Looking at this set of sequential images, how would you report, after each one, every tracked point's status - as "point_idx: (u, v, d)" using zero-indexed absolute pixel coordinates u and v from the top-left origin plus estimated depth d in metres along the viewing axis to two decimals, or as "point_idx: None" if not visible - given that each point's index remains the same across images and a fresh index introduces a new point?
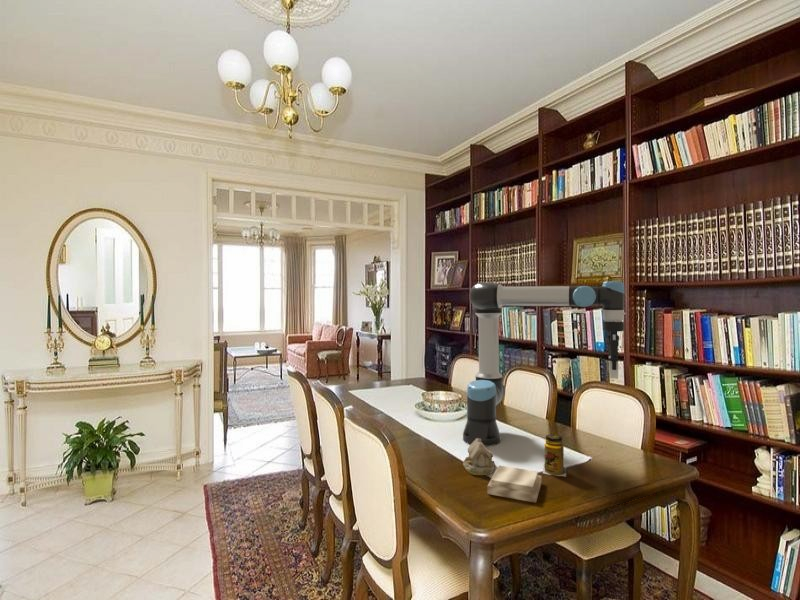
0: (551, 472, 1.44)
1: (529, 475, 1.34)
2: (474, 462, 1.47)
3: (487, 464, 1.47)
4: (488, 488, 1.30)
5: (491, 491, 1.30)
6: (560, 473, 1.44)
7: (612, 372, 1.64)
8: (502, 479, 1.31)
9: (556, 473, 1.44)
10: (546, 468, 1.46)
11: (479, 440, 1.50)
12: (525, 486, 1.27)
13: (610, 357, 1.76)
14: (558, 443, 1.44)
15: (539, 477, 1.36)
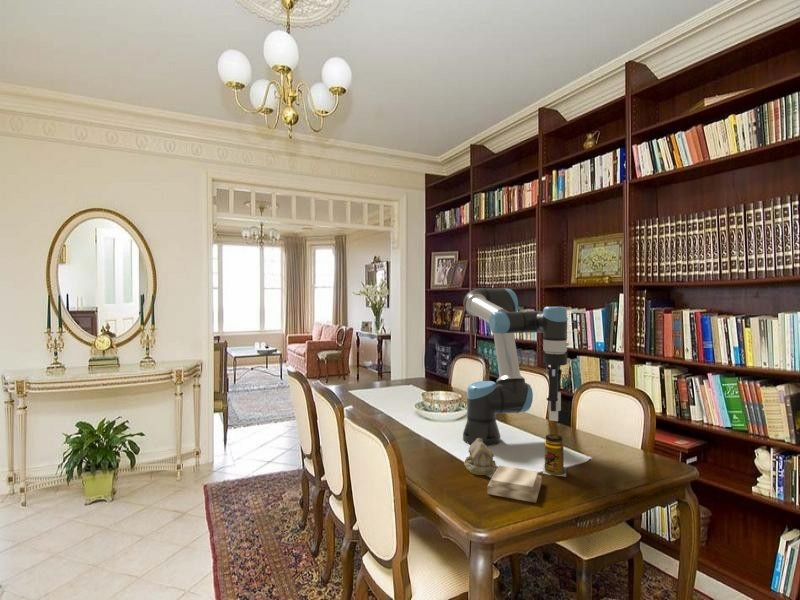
0: (551, 472, 1.44)
1: (529, 475, 1.34)
2: (475, 462, 1.47)
3: (488, 464, 1.47)
4: (488, 488, 1.30)
5: (491, 491, 1.30)
6: (560, 473, 1.44)
7: (551, 413, 1.41)
8: (502, 479, 1.31)
9: (556, 473, 1.44)
10: (546, 468, 1.46)
11: (480, 440, 1.51)
12: (525, 486, 1.27)
13: None
14: (558, 443, 1.44)
15: (539, 477, 1.36)
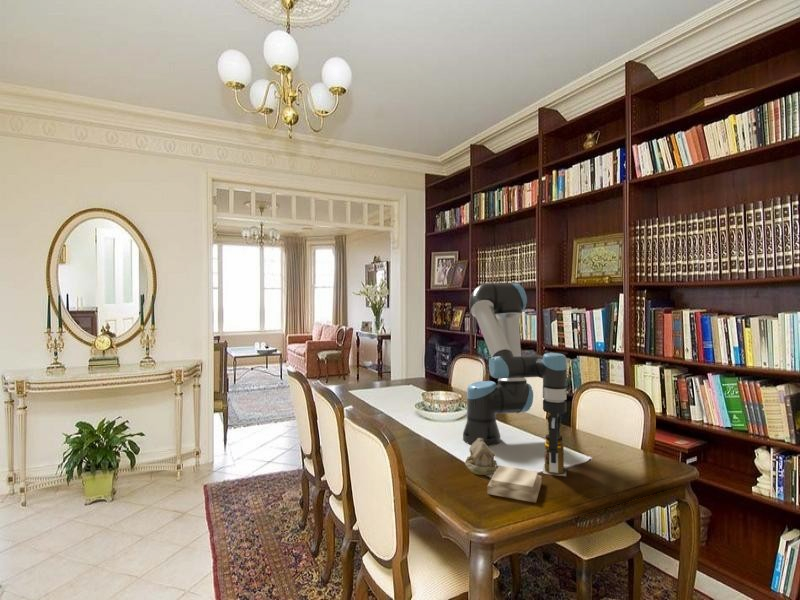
0: (551, 472, 1.45)
1: (529, 475, 1.34)
2: (477, 462, 1.47)
3: (490, 463, 1.48)
4: (488, 488, 1.30)
5: (491, 491, 1.30)
6: (560, 473, 1.44)
7: (551, 465, 1.44)
8: (502, 479, 1.31)
9: (556, 473, 1.44)
10: (546, 468, 1.46)
11: (481, 440, 1.51)
12: (525, 486, 1.27)
13: None
14: (558, 443, 1.44)
15: (539, 477, 1.36)
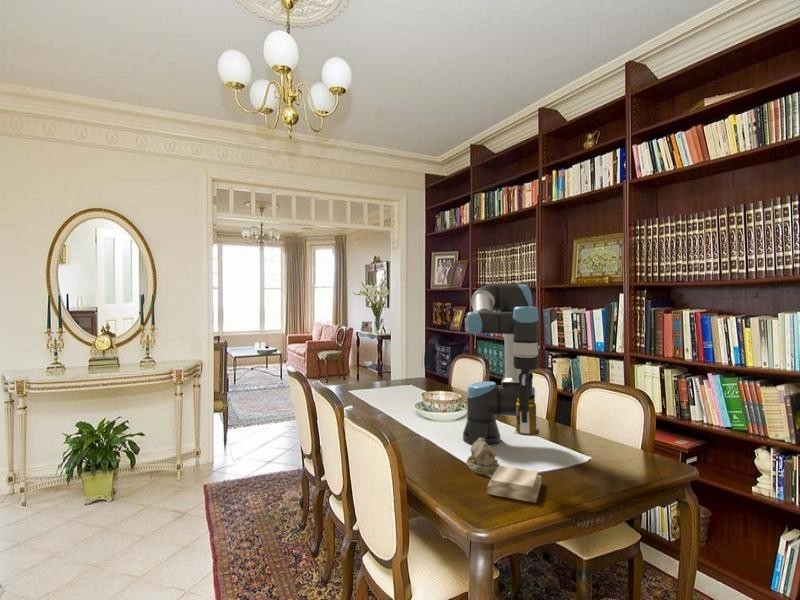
0: None
1: (529, 475, 1.34)
2: (479, 461, 1.47)
3: (491, 463, 1.48)
4: (488, 488, 1.30)
5: (491, 491, 1.30)
6: (532, 433, 1.34)
7: (522, 425, 1.34)
8: (502, 479, 1.31)
9: (528, 433, 1.34)
10: (517, 428, 1.36)
11: (483, 439, 1.51)
12: (525, 486, 1.27)
13: None
14: (530, 401, 1.34)
15: (539, 477, 1.36)
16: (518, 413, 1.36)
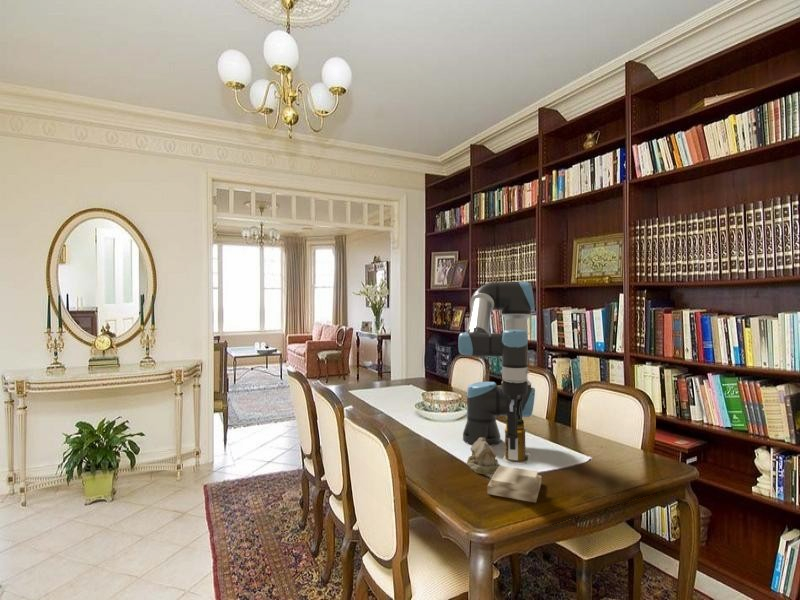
0: None
1: (529, 475, 1.34)
2: (480, 461, 1.48)
3: (492, 463, 1.48)
4: (488, 488, 1.30)
5: (491, 491, 1.30)
6: (521, 460, 1.31)
7: (510, 451, 1.31)
8: (502, 479, 1.31)
9: (516, 460, 1.31)
10: (506, 455, 1.33)
11: (483, 439, 1.51)
12: (525, 486, 1.27)
13: None
14: (518, 427, 1.31)
15: (539, 477, 1.36)
16: (507, 439, 1.33)
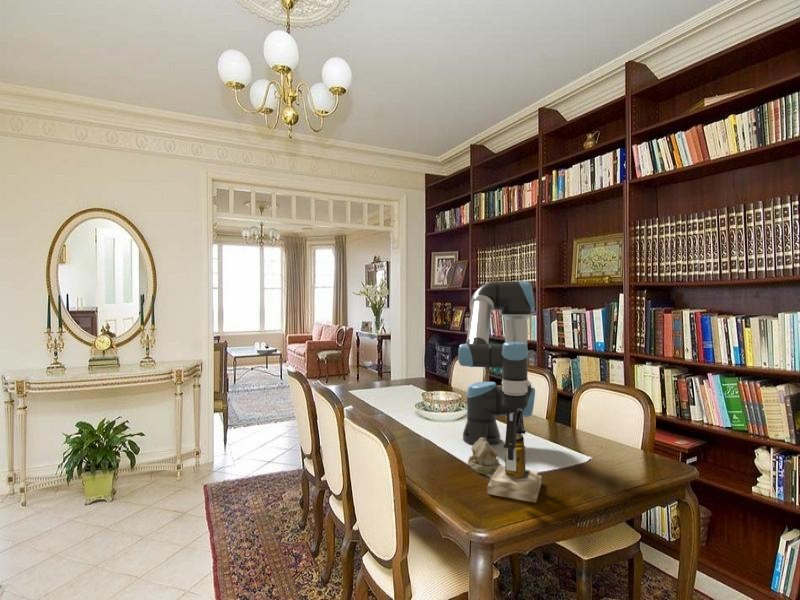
0: (511, 476, 1.32)
1: (529, 475, 1.34)
2: (481, 461, 1.48)
3: (493, 462, 1.48)
4: (488, 488, 1.30)
5: (491, 491, 1.30)
6: (521, 477, 1.32)
7: (508, 462, 1.28)
8: (502, 479, 1.31)
9: (516, 477, 1.31)
10: (506, 471, 1.34)
11: (484, 439, 1.51)
12: (525, 486, 1.27)
13: None
14: (519, 444, 1.32)
15: (539, 477, 1.36)
16: None
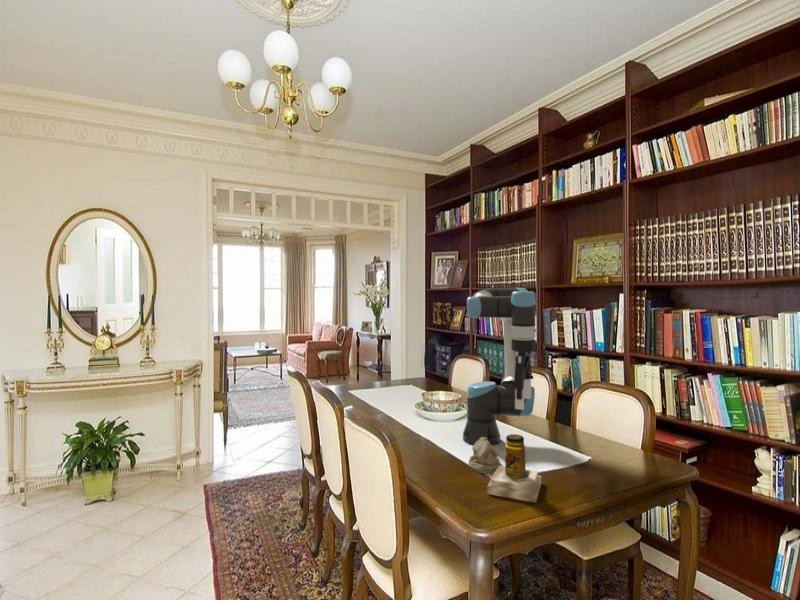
0: (511, 476, 1.32)
1: (529, 475, 1.34)
2: (482, 461, 1.48)
3: (495, 462, 1.49)
4: (488, 488, 1.30)
5: (491, 491, 1.30)
6: (521, 477, 1.32)
7: (517, 401, 1.36)
8: (502, 479, 1.31)
9: (516, 477, 1.31)
10: (506, 471, 1.34)
11: (485, 439, 1.52)
12: (525, 486, 1.27)
13: (524, 380, 1.48)
14: (519, 444, 1.32)
15: (539, 477, 1.36)
16: (507, 456, 1.33)
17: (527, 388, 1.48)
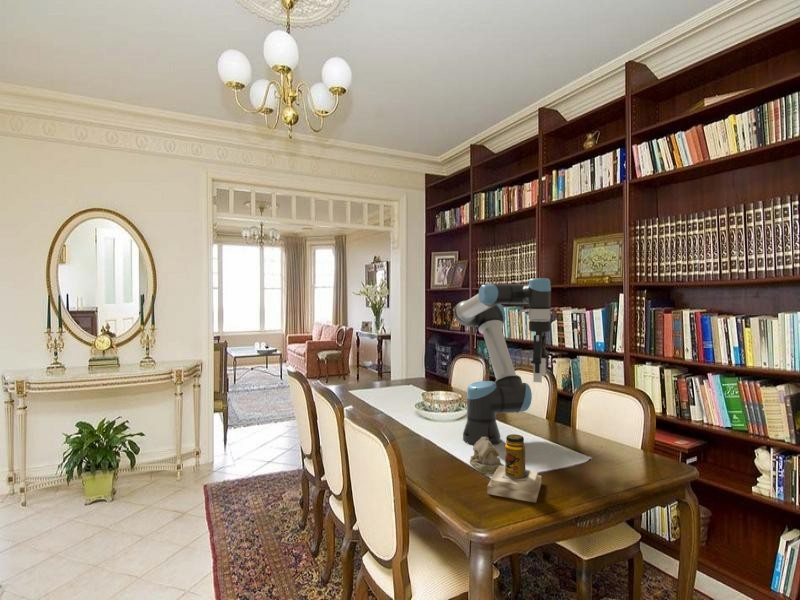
0: (511, 476, 1.32)
1: (529, 475, 1.34)
2: (484, 460, 1.48)
3: (496, 462, 1.49)
4: (488, 488, 1.30)
5: (491, 491, 1.30)
6: (521, 477, 1.32)
7: (535, 375, 1.53)
8: (502, 479, 1.31)
9: (516, 477, 1.31)
10: (506, 471, 1.34)
11: (486, 438, 1.52)
12: (525, 486, 1.27)
13: None
14: (519, 444, 1.32)
15: (539, 477, 1.36)
16: (507, 456, 1.33)
17: (542, 366, 1.65)
